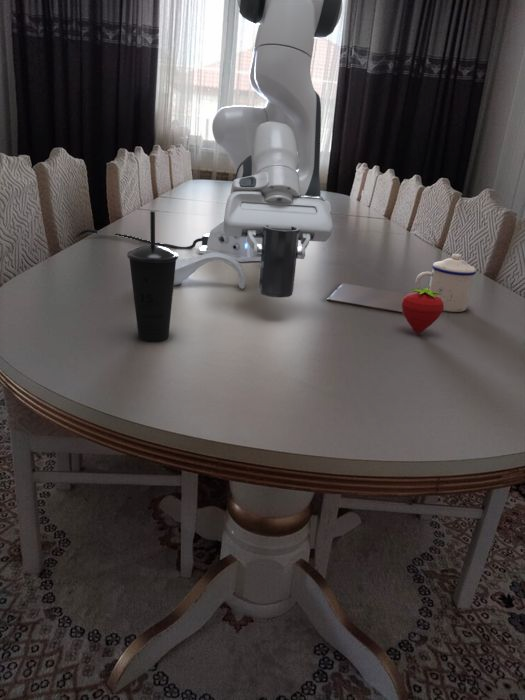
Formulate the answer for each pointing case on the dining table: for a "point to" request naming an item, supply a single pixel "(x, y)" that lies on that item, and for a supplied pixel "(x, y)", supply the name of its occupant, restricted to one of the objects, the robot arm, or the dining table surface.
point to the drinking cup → (152, 287)
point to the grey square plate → (368, 297)
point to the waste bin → (278, 262)
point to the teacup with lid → (451, 282)
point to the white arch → (192, 264)
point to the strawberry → (422, 308)
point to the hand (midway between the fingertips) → (279, 256)
